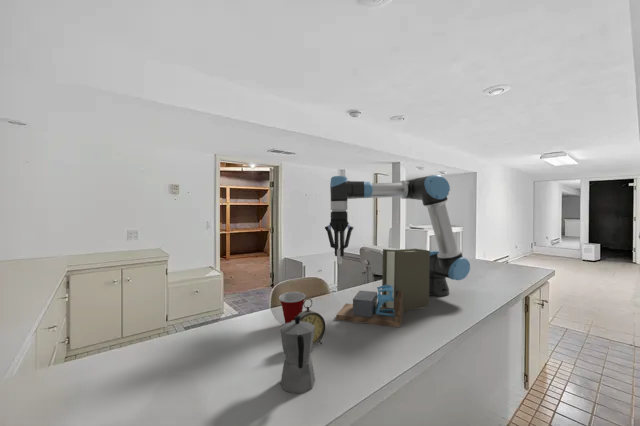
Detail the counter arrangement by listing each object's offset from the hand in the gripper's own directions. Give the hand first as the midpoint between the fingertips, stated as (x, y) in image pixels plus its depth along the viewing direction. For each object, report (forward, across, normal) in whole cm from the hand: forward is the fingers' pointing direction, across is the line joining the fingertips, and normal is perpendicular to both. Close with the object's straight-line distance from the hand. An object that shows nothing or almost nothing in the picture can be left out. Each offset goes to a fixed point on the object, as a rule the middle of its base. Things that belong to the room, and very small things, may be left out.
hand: (339, 263), depth 133 cm
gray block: (+20, -12, 0) cm, 23 cm away
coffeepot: (+22, -5, +57) cm, 61 cm away
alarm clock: (+22, +1, +35) cm, 41 cm away
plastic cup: (+22, +14, +20) cm, 33 cm away
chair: (+20, -20, 0) cm, 29 cm away
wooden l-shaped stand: (+22, -14, 0) cm, 26 cm away
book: (+23, -28, -18) cm, 40 cm away
